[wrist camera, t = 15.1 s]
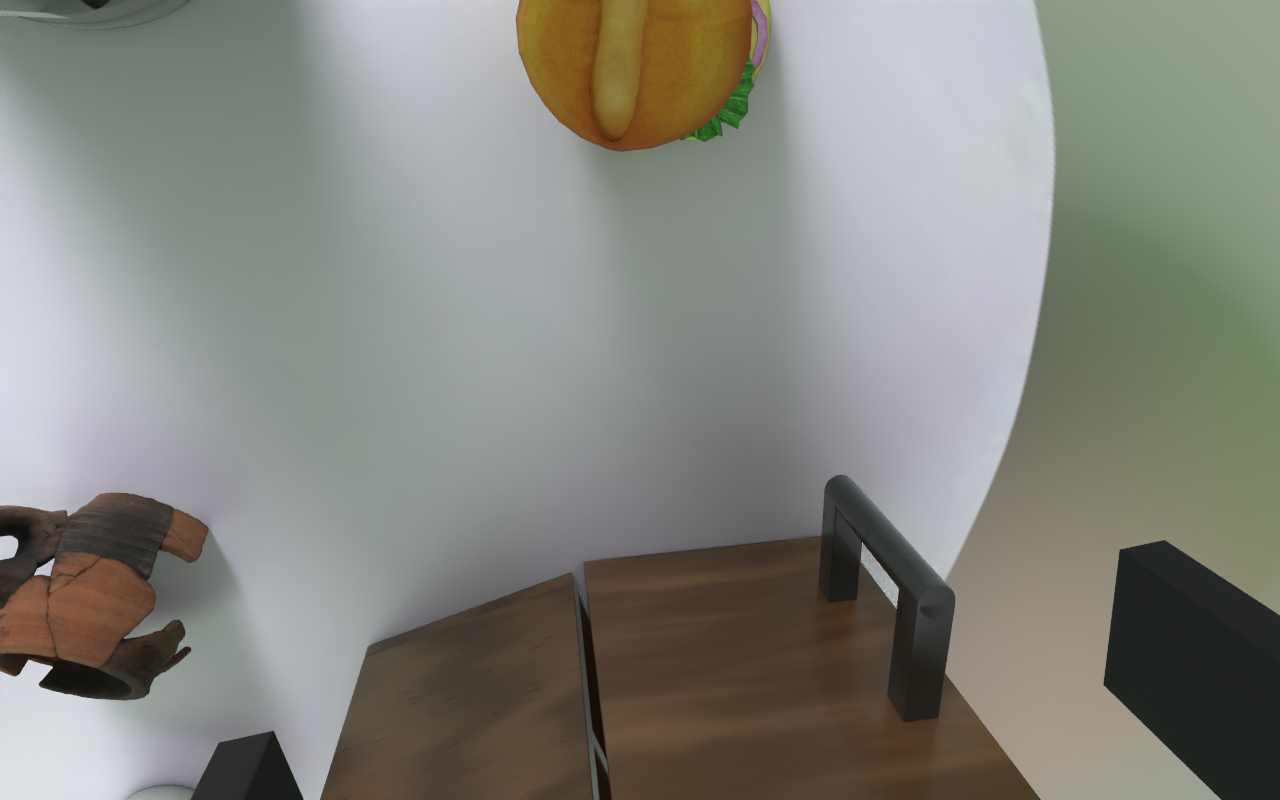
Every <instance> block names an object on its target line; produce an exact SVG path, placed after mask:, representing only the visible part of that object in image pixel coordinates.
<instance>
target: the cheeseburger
mask: <svg viewBox="0 0 1280 800" xmlns="http://www.w3.org/2000/svg"><path fill="white" fill-rule="evenodd" d="M516 26H517V37H518V47H519V54H520V56H521V59H522V61H523V64H524V67H525V69H526V72H527V74H528V77H529V79H530V82H531V84H532V86H533V87H534V89H535V91H536V92H537V94H538V95H539V97H540V98H541V100H542V101H543V103H544V104H545V106H546V107H547V108H548V109H549V110H550V111H551V113H552V114H553V115H554V116H555V117H556V118H557V119H558V121H559V122H561V123H562V124H563V125H565V126H566V127H567V128H569V129H570V130H572V131H573V132H574V133H576V134H577V135H578V136H580V137H581V138H583V139H585V140H588V141H590V142H592V143H595V144H597V145H599V146H602V147H604V148H607V149H610V150H614V151H632V150H640V149H648V148H654V147H657V146H660V145H663V144H666V143H669V142H672V141H675V140H678V139H680V140H683V139H688V140H697V139H699V140H701V141H704V142H705V141H707V140H709V139H711V138H713V137H715V136H717V135H718V136H722V129H721V123H722V122H725V123H727V124H729V125H731V126H733V127H735V128H737V129H738V127H739V122H740V121H741V120H742V118H743V117H744V116H745V115H746V114H747V112H748V94H749V93H750V91H751V90H752V88H753V87H754V84H753V81H754V80H755V78H756V76H757V74H758V72H759V71H760V69H761V68H762V66H763V64H764V62H765V58H766V54H767V50H768V46H769V42H770V28H771V12H770V3H769V0H520V1H519V6H518V10H517V15H516Z"/></svg>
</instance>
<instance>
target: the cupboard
mask: <svg viewBox="0 0 1280 800" xmlns="http://www.w3.org/2000/svg"><path fill="white" fill-rule="evenodd" d="M320 800H611V793H610V784H609V776H608V767H607V759H606V751H605V742H604V734H603V725H602V717H601V709H600V700H599V692H598V683H597V675H596V667H595V658H594V650H593V641H592V633H591V625H590V616H589V609H588V607H587V605H586V602H585V600H584V598H583V595H582V593H581V591H580V589H579V586H578V584H577V582H576V580H575V577H574V575H573V573H572V572H571V573H568V574H565V575H563V576H560V577H557V578H554V579H552V580H549V581H546V582H543V583H541V584H538V585H535V586H532V587H530V588H527V589H524V590H521V591H519V592H516V593H513V594H510V595H508V596H505V597H502V598H499V599H497V600H494V601H491V602H488V603H486V604H483V605H480V606H477V607H475V608H472V609H469V610H466V611H464V612H461V613H458V614H455V615H453V616H450V617H447V618H444V619H442V620H439V621H436V622H433V623H431V624H428V625H425V626H422V627H420V628H417V629H414V630H411V631H409V632H406V633H403V634H400V635H398V636H395V637H392V638H389V639H387V640H384V641H381V642H378V643H376V644H373V645H370V646H368V648H367V651H366V655H365V658H364V661H363V664H362V667H361V671H360V674H359V677H358V680H357V683H356V686H355V690H354V693H353V696H352V699H351V702H350V706H349V709H348V712H347V715H346V718H345V722H344V725H343V728H342V731H341V734H340V738H339V741H338V744H337V747H336V750H335V753H334V757H333V760H332V763H331V766H330V769H329V773H328V776H327V779H326V782H325V785H324V789H323V792H322V795H321V798H320Z"/></svg>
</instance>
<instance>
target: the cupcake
mask: <svg viewBox="0 0 1280 800" xmlns="http://www.w3.org/2000/svg"><path fill="white" fill-rule="evenodd" d="M194 791H195V790H193V789H190V788H186V787H182V786H170V785H166V786H154V787H150V788H147V789H144V790H141V791H139V792H137V793H135V794H133V795H131V796H129V797H128V798H126V799H125V800H190V799H191V797H192V795H193V793H194Z"/></svg>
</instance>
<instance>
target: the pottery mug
mask: <svg viewBox="0 0 1280 800" xmlns="http://www.w3.org/2000/svg"><path fill="white" fill-rule="evenodd" d="M207 534H208V528H207V526H205V525H204V524H203V523H202V522H200V521H199V520H198V519H195V518H194V517H192V516H191V515H189V514H187V513H184V512H182V511H180V510H178V509H174V508H173V507H171V506H169V505H166V504H163V503H160V502H157V501H156V500H154V499H152V498H145V497H141V496H138V495H135V494H128V493H105V494H100V495H98V496H97V497H96V498H95V499H94V500H93V501H91V502H90V503H89V504H87V505H86V506H84V507H82V508H80V509H79V510H78V511H77V512H76V513H74V514H72V515H70V516H67V511H66V510H61V511H55V512H49V511H44V510H40V509H35V508H30V507H21V506H0V537H1V536H8V535H10V536H13V537H15V538H16V539H17V540H18V549H17V552H16V554H15V556H14V557H13V558H10V559H4V560H0V671H1V672H4V673H6V674H9V675H12V676H17V675H18V674H20V672H21V671H22V669H23V667H24V666H25V664H26V663H27V661H28V659H29V660H32V661H35V662H38V663H42V664H46V665H50V666H53V668H52V670H50V672H49V673H48V674H47V675H46V676H45V678H44V679H43V680H42V681H41V682H40V683H39V686H40V687H42V688H45V689H49V690H52V691H56V692H61V693H64V694H72V695H76V696H81V697H86V698H94V699H110V700H134V699H140V698H143V697H145V696H146V695H148V694H149V692H150V686H151V684H152V682H153V680H154V678H155V677H157V676H158V675H159V674H161V673H163V672H166V671H167V670H169V669H170V668H171V667H172V666H174V665H176V664H177V663H179V662H180V661H181V660H182V659H183V658H184V657H185V656H186V655H187V654H189V653H190V652H191V648H190V647H184V648H183V649H181V650H180V651H179V652H178V653H177V654H175V653H176V651H177V648H178V644H179V642H180V641H181V640H182V639H183V638H184V637H185V629H184V626H183V624H182V622H181V621H180V620H173V621H171V622H170V623H169V624H168V625H167V626H166V627H164V629H163V630H161V631H156V632H154V633H152V634H149V635H145V636H141V637H135V638H129V639H123V638H124V637H125V636H127V635H128V634H129V633H130V632H131V631H132V630H133V629H134V628H135V627H136V626H137V625H138V624H139V623H140V622H141V621H142V620H143V619H144V618H145V617H146V616H148V615H149V614H150V613H151V611H152V610H153V609H154V603H155V599H156V597H155V591H154V590H153V588H152V587H151V585H150V584H149V583H148V582H147V580H148V579H149V578H150V575H151V573H152V568H153V565H154V562H155V559H156V556H157V552H158V551H159V550H162V551H165V552H170V553H171V554H173V555H176V556H178V557H179V558H182V559H183V560H185V561H186V562H188V563H192V562H195V561H196V560H197V559H198V558H199V556H200V554H201V552H202V546H203V544H204V542H205V539H206V536H207ZM53 558H54V559H55V560H54V565H53V566H52V571H51V576H45V575H36V576H34V573H35V572H36V570H37V568H39V567H41V566H43V565H44V564H46V563H48V562H49V561H50V560H52V559H53ZM174 654H175V655H174Z"/></svg>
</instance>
